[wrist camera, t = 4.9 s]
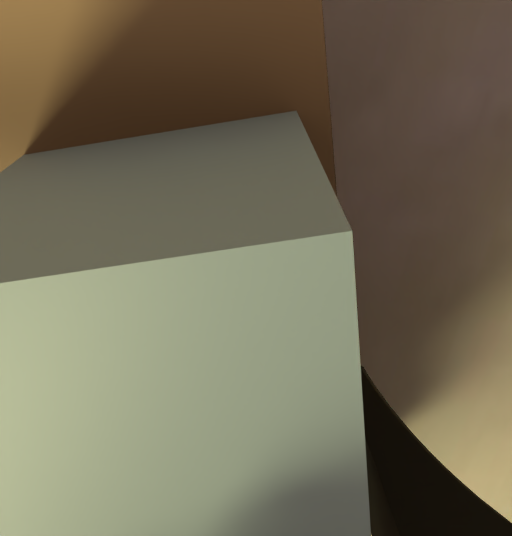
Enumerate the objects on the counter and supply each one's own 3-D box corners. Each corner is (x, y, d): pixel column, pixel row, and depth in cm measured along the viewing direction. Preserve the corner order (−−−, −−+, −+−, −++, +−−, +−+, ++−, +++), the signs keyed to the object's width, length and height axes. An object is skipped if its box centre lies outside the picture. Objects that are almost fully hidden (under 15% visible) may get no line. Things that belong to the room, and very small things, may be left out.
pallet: (347, 541, 20) (373, 678, 16) (224, 555, 20) (220, 694, 16) (286, -43, 10) (316, -66, 6) (45, 0, 10) (-78, 6, 6)
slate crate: (321, 334, 9) (372, 556, 5) (106, 364, 9) (22, 595, 6) (296, 111, 7) (352, 231, 3) (24, 154, 7) (-185, 310, 4)
